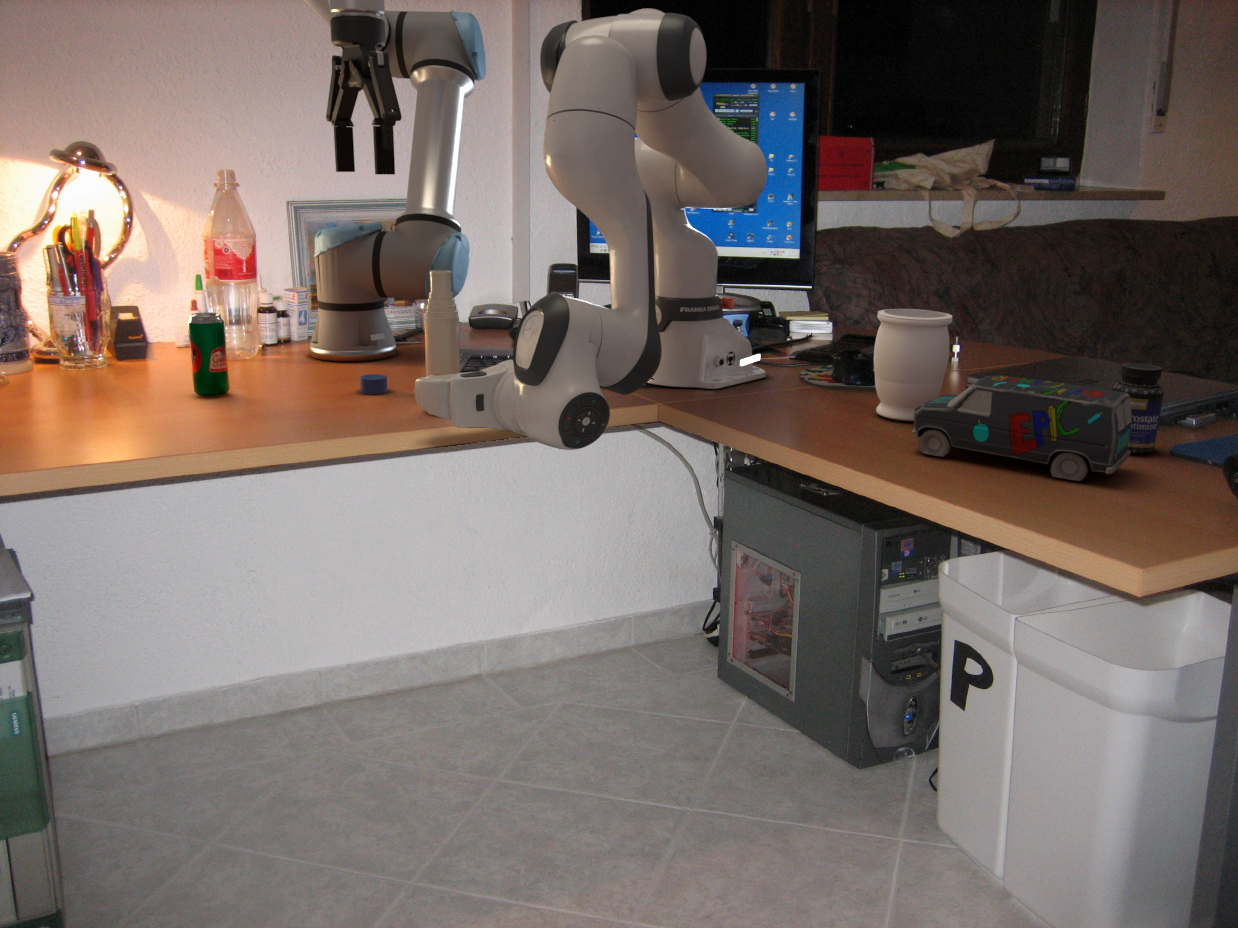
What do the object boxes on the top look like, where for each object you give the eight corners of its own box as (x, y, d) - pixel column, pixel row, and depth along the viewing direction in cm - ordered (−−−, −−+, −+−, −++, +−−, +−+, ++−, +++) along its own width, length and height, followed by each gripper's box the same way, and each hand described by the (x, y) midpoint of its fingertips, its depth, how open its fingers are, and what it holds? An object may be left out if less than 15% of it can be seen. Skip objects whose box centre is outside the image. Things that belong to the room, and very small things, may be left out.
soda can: (218, 398, 158) (211, 317, 155) (187, 396, 159) (179, 316, 156) (236, 391, 163) (230, 313, 160) (206, 389, 164) (199, 311, 161)
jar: (854, 409, 159) (862, 309, 155) (910, 404, 163) (920, 306, 159) (898, 426, 150) (909, 320, 146) (957, 420, 154) (969, 317, 150)
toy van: (934, 435, 146) (942, 362, 143) (1130, 468, 132) (1143, 388, 129) (905, 451, 137) (912, 375, 134) (1110, 488, 123) (1124, 404, 121)
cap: (387, 394, 164) (387, 379, 164) (360, 395, 163) (359, 380, 163) (387, 388, 168) (386, 374, 167) (360, 389, 167) (359, 374, 166)
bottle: (440, 417, 150) (436, 273, 145) (420, 411, 154) (415, 270, 148) (468, 412, 154) (465, 271, 148) (447, 406, 157) (443, 268, 151)
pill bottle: (1117, 454, 138) (1130, 370, 135) (1094, 442, 144) (1106, 361, 140) (1163, 454, 138) (1177, 370, 135) (1139, 442, 144) (1152, 361, 141)
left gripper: (298, 22, 158) (307, 170, 164) (370, 6, 139) (378, 175, 145) (346, 26, 162) (353, 171, 168) (422, 12, 143) (427, 175, 149)
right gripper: (583, 364, 141) (529, 348, 152) (444, 379, 129) (395, 361, 140) (583, 410, 143) (529, 391, 154) (445, 429, 131) (397, 408, 142)
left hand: (364, 173), depth 156 cm, fingers open, 13 cm apart
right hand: (464, 377), depth 147 cm, fingers open, 8 cm apart
